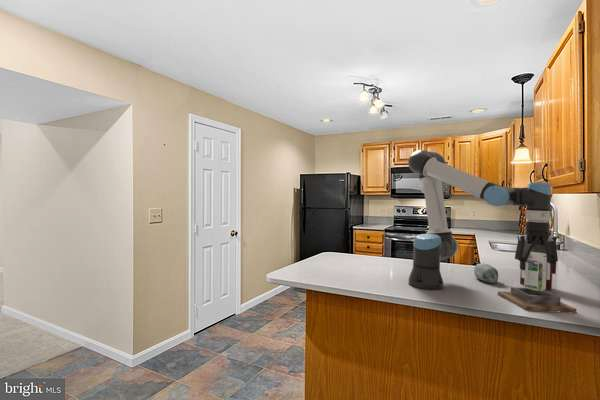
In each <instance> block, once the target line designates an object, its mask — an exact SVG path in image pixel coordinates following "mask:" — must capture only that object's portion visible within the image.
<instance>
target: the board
mask: <svg viewBox="0 0 600 400" xmlns="http://www.w3.org/2000/svg"><path fill="white" fill-rule="evenodd" d="M497 295H498V296H499V295H500V296H499V297H501V298H503V299H504V298H505V300H506V299H507V301H508V302H509V303H511V304H513V303H514V304H513V305H515V304H516V306H517V307H519V308H521V309H522V308H523V310H524V311H527V310H535V311H534V312H548V311H560V312H559V313H569V312H572V313H573V314H577V308H575V307H574V306H571V305H570V304H567V303H564V302H562V301H561V300H562V299H561V297H560V296H558V295H556V294H554V293H551V292H549V291H548V290H543V291H541V292H540V291H536V290H531V289H527V288H524V286H523V287H522V286H521V287H520V286H518V287H517V286H510V291H497Z"/></svg>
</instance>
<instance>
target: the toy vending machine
mask: <svg viewBox="0 0 600 400" xmlns="http://www.w3.org/2000/svg"><path fill="white" fill-rule="evenodd" d="M526 242H527V239H526V240H525V245H524V248H525V246H526ZM546 242H547V244H548V240H547V241H546ZM548 249H549V245H548ZM531 252H537V253H542V250H541V248H540V246H539V245H535V246H534V247H533V248H532V250H531ZM521 271H522V270H521V269H520V276H519V277H520V278H519V283H520V285H521V286H523V287H524V282H525V278H522V277H521ZM556 274H557V262H555V263H554V264H552V271H550V280H547V279H546V289H545V290H544V291H552V288H553V287H552V286H553V275H556Z"/></svg>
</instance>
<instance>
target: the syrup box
mask: <svg viewBox="0 0 600 400" xmlns="http://www.w3.org/2000/svg"><path fill="white" fill-rule="evenodd" d="M526 262H528V279H525V282H524V286H523V288H527V289H531V290H536V291H540V292H541V291H543V290H544V291H546V290H545V289H546V269H547V254H544V253H537V252H530V255H529V257H528V259H527V261H526Z"/></svg>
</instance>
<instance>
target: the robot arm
mask: <svg viewBox="0 0 600 400" xmlns="http://www.w3.org/2000/svg"><path fill="white" fill-rule="evenodd" d="M407 164H408V168H409V169H410V170H411V172H413V173H414V174H418V180H419V182H422V184H423V192H424V194H423V195H424V201H425V207H426V209H425V210H426V215H427V224H428V230H427V231H426V233H420V234H416V236H414V237H413V238H414V239H413V242H412V243H413V249H412V250H413V251H412V252H413V253H412V269H411V271H410V274H409V276H408V280H407V281H408V284H409V285H410V286H412V287H415V288H417V289H423V290H428V291H429V290H432V291H433V290H435V291H437V290H438V291H439V290H442V289H444V279H443V277H442V274H441V273H442V272H441V260H448V259H450V258H452V257H454V256H455V255H456V253H457V251H458V248H459V247H458V242H457V240H456V238H454V237H453V232H452V230H451V229H450V228H448V221H447V219H448V218H447V213H446V212H447V211H446V206H445V205H446V204H445V199H444V197H445V196H444V191H443V190H444V189H443V183H444V184H447V185H449V186H451V187H454V188H456V189H458V190H460V191H463V192H465V193H467V194H470V195H472V196H474V197H477V198H479V199H482V200H483V201H485V202H486V203H487V204H488V205H491V206H495V207H499V206H517V207H518V206H519V207H520V206H521V207H525V209H526V212H525V213H526V214H525V220H526V221H525V231H526V232H525V234H521V235H520V234H518V235H517V243H516V244H517V245H516V250H515V254H514V259H515V260H518V261H519V269H520V273H521V277H522V278H525V279H528V262H526V261H527V259H528V257H529V255H530V252H531V250H532V248H533V247H534V246H535V245H539V246H540V248H541V250H542V253H544V254H547V269H546V279H547V280H550V271H552V264H554V263H555V262H556V263H557V262H558V261H559V259H558V258H559V257H558V250H557V240H558V238H557V236H554V235H553V236H552V235H550V234H549V232H550V226H551V224H550V222H549V221H550V219H551V199H552V190H551V189H552V187H551V183H549V182H542V181H541V182H528V183H527V186H526V187H506V186H501V185H498V184H496V183H493V182H490V181H489V180H486V179H483V178H481V177H478V176H476V175H473V174H471V173H469V172H466V171H464V170H461V169H458V168H455V167H454V166H451V165H449V164H447V161H446V159H445V157H444V156H442V155H441V154H439V153H437V152H434V151H427V150H425V149H419V150H416V151H414V152H413V153H412V154H410V155H409V157H408V162H407ZM442 182H443V183H442ZM526 239H527V242H526V246H525V248H524V245H525V240H526ZM547 240H548V244H547V242H546V241H547ZM548 245H549V249H548ZM521 270H522V271H521Z"/></svg>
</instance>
